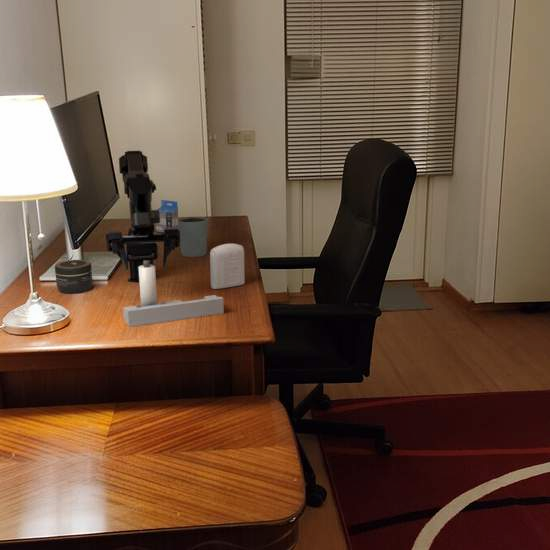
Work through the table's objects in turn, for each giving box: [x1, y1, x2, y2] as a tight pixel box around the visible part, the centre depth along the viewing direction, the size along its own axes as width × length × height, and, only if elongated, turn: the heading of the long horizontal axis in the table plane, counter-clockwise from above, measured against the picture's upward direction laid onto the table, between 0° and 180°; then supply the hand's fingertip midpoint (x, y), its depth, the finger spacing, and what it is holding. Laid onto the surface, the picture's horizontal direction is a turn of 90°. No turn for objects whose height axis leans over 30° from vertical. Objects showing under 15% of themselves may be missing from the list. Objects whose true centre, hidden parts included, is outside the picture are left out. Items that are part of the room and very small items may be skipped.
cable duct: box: [122, 294, 225, 328], centre depth 172 cm, size 24×6×4 cm, turn 113°
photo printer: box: [209, 243, 246, 290], centre depth 195 cm, size 10×4×12 cm, turn 123°
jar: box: [54, 259, 93, 295], centre depth 194 cm, size 10×10×8 cm
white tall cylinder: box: [138, 260, 158, 306], centre depth 170 cm, size 4×4×14 cm
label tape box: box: [155, 199, 179, 234], centre depth 265 cm, size 9×4×12 cm, turn 55°
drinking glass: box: [178, 216, 209, 258], centre depth 232 cm, size 10×10×12 cm
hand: (146, 268), depth 174 cm, fingers open, 9 cm apart
